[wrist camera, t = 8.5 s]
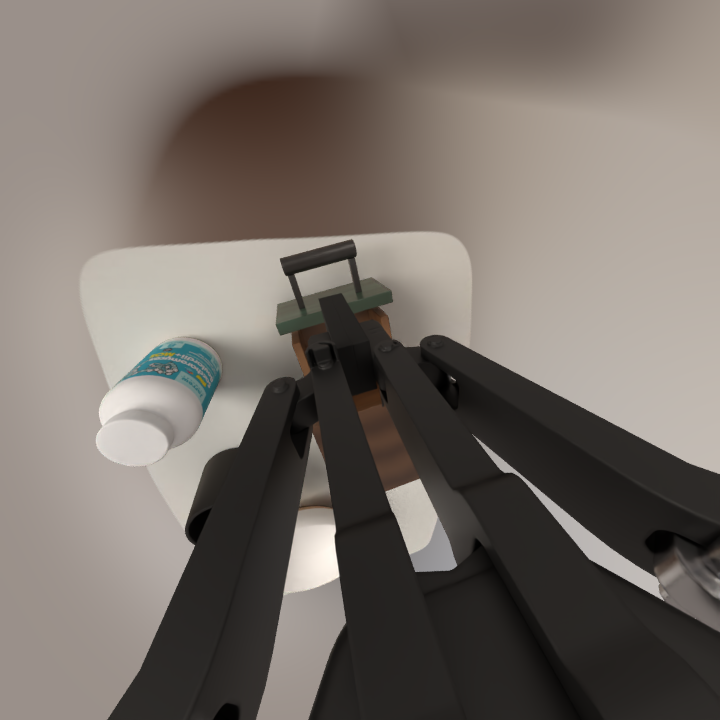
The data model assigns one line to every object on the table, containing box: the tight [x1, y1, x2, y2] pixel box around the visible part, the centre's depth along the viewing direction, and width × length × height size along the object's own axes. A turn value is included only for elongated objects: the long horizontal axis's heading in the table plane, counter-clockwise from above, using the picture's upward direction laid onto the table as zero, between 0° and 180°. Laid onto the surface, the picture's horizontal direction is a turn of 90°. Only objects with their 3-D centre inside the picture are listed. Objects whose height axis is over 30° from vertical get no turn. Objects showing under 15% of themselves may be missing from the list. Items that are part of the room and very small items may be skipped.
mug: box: [185, 448, 238, 545], centre depth 38 cm, size 9×12×9 cm
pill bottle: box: [96, 337, 222, 466], centre depth 26 cm, size 8×7×14 cm
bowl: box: [284, 506, 339, 593], centre depth 49 cm, size 20×20×6 cm
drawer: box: [276, 239, 393, 408], centre depth 31 cm, size 20×11×7 cm, turn 13°
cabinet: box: [313, 400, 420, 491], centre depth 38 cm, size 16×13×9 cm
